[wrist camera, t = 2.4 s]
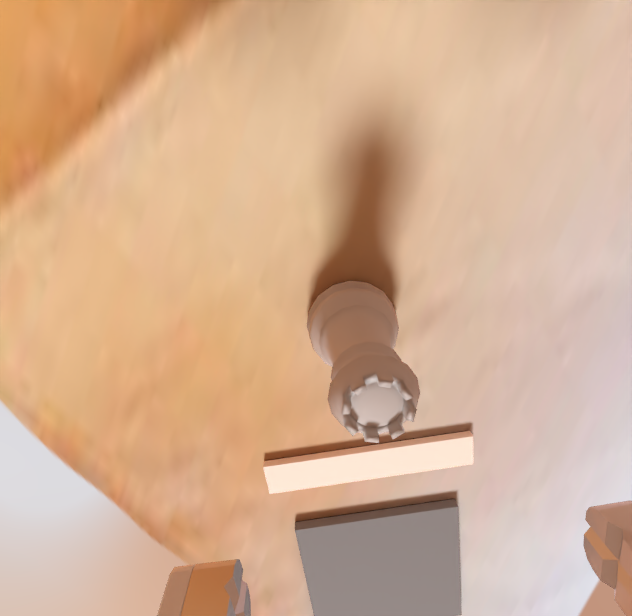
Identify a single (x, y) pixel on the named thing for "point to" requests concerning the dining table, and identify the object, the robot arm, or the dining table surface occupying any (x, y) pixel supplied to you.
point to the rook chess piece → (363, 360)
